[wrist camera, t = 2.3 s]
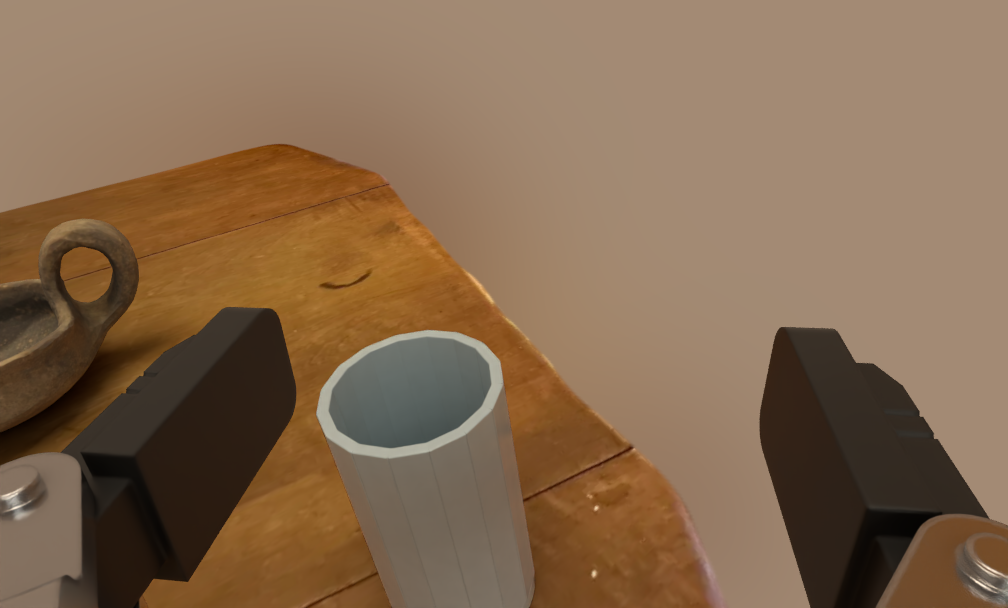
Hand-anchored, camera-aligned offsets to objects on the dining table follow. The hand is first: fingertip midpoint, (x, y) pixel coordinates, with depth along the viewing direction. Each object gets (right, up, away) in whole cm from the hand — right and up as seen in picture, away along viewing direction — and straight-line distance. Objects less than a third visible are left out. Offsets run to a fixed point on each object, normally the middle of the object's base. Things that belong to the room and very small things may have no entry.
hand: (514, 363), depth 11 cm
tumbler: (-2, -11, +17) cm, 20 cm away
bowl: (-30, -5, +32) cm, 44 cm away
